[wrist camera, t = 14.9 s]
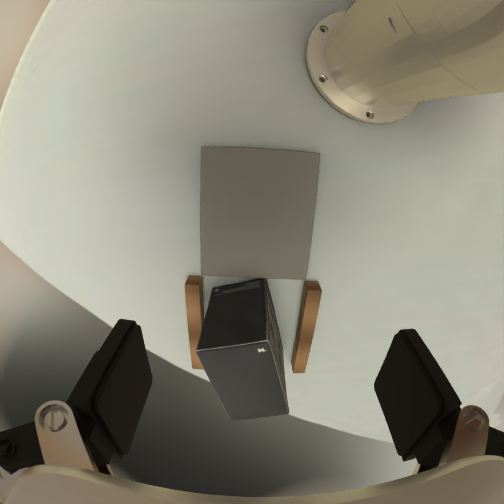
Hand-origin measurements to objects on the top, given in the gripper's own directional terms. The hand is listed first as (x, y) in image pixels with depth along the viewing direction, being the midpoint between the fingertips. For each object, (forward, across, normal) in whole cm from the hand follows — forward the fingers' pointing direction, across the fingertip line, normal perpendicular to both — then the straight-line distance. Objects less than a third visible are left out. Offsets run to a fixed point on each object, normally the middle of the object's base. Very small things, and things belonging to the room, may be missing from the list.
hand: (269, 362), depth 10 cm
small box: (+20, +1, +12) cm, 24 cm away
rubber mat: (+20, 0, 0) cm, 20 cm away
